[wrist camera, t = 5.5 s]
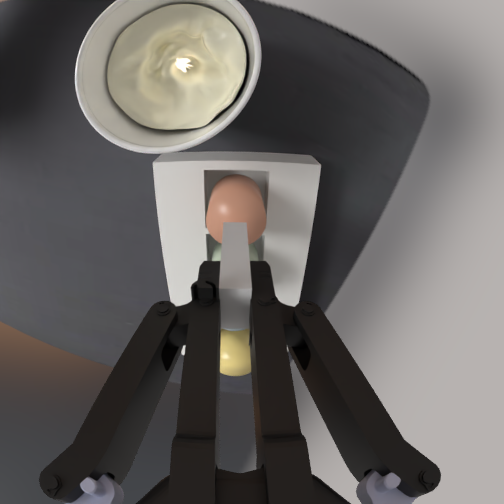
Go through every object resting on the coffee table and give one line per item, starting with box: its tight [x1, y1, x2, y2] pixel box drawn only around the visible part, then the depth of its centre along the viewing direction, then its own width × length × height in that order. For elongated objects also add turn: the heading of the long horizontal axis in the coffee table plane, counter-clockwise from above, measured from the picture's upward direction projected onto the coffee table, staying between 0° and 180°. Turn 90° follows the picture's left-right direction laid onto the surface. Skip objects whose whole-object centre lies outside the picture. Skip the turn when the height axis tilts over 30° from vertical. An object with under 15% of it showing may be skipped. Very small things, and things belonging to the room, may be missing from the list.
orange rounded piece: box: [206, 174, 266, 245], centre depth 22 cm, size 4×4×4 cm
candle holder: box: [75, 0, 261, 154], centre depth 16 cm, size 10×10×12 cm
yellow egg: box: [220, 328, 251, 376], centre depth 32 cm, size 4×4×4 cm
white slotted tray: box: [153, 151, 321, 355], centre depth 30 cm, size 25×14×4 cm, turn 178°
